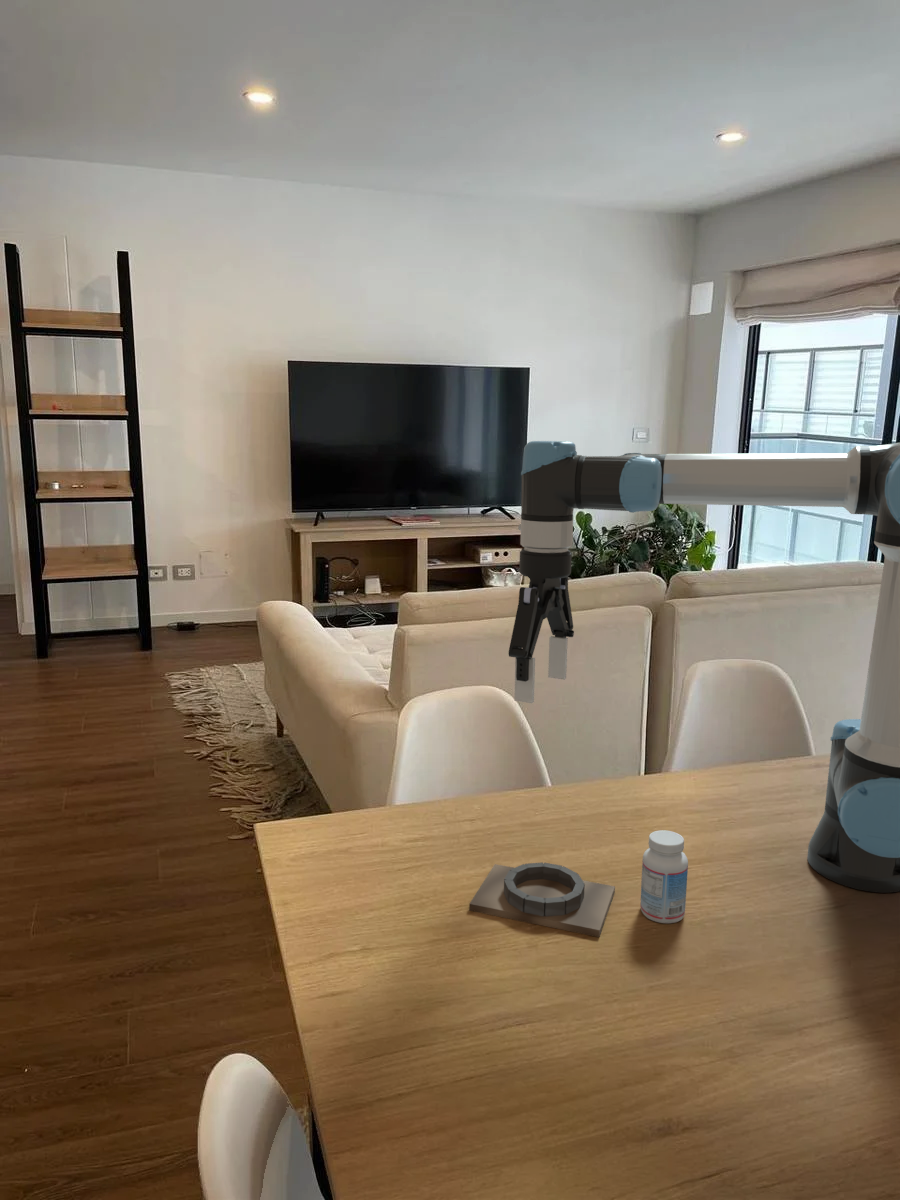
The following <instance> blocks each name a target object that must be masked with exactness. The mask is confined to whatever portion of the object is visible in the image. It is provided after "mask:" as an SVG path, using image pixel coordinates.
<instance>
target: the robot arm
mask: <svg viewBox="0 0 900 1200" xmlns="http://www.w3.org/2000/svg"><path fill="white" fill-rule="evenodd" d="M576 447H577V446H576V444H575V443H574V442H573V441H566V440H565V441H557V440H532V441H529V442H526V445H525V446H524V448H523V455H522V466H521V467H522V469H521V472H520V476H521V502H520V503H521V510H520V511H521V513H520V514H521V515H520V524H518V526H517V528H518V529H517V530H519V531H520V544H519V545H520V546H521V547H523V548H522V549H521V550H520V551H519V566H518V567H519V570H518V572H519V573H520V574H519V575H521V576H524V577H527V578H528V579H529V584H528V587H526V586H525V587H524V586H521V587H520V588H519V592H518V605H517V609H516V614H515V617H514V618H515V619H514V623H513V629H512V633H511V638H510V643H509V649H508V657H510V658H515V659H514V660H515V661H514V662H515V663H514V664H515V668H514V698H513V699H514V701H516V702H522V703H527V704H533V703H535V679H536V678H535V675H536V657H533V656H534V653H535V648H536V646H537V642H538V638H539V636H540V632H541V628H542V625H543V622H544V620H545V619H547V622H548V625H549V628H550V631H551V632H550V633H551V634H552V635H550V636H549V643H548V645H549V646H548V647H549V648H548V667H547V668H548V670H547V672H548V673H547V678H550V679H558V680H566V679H567V667H568V666H567V662H568V638H573V637H574V635H575V630H573V629H574V622H573V615H572V607H571V600H570V594H569V593H570V592H569V576H570V575H571V573H572V559H573V558H572V555H573V554H572V552H571V550H569V549H570V548H571V547H572V546H573V543H574V541H573V539H574V538H573V537H574V534H573V533H574V509H575V510H602V511H616V512H617V511H618V512H629V513H638V512H654V511H655V510H656V509H657V508H658V507H659V505H661V504H665V505H666V504H668V505H716V506H717V505H718V506H721V505H722V506H723V505H724V506H725V505H726V506H727V505H728V506H764V507H765V506H775V507H818V508H819V507H820V508H821V507H824V508H825V507H828V508H830V507H831V508H844V509H845V510H846V511H847V512H848V513H849V514H850V515H867V516H869V515H870V516H876V517H877V519H876V524H875V533H874V538H873V539H874V541H873V543H874V545H875V546H876V547H877V548H878V549H879V550H880V552H881V553H882V554H883V555H884V556H883V557H884V561H883V568H882V574H881V581H880V589H879V596H878V601H877V609H876V613H875V615H876V616H875V620H874V621H875V622H874V628H873V636H872V642H871V649H870V656H869V662H868V663H869V664H868V668H867V676H866V683H865V690H864V696H863V703H862V709H861V715H860V719H858V718H851V719H850V718H848V719H847V718H846V719H842V720H839V721H837V722H835V724H834V726H833V730H832V735H831V737H830V742H831V747H830V753H829V754H830V755H829V764H828V773H827V774H828V775H827V784H826V794H825V804H824V811H823V815H822V816H821V818H820V819H819V822H818V824H817V826H816V828H815V830H814V833H813V834H812V836H811V838H810V840H809V842H808V848H807V857H806V858H807V862H808V864H809V865H810V867H811V868H812V869H813V870H814V871H816V872H817V873H818V874H819V875H821V876H823V877H824V878H826V879H828V880H830V881H831V882H834V883H837V884H839V885H843V886H845V887H849V888H850V889H851V888H852V889H856V890H860V891H864V892H872V893H884V894H885V893H896V892H897V893H899V892H900V442H895V443H888V444H887V443H886V444H878V445H877V444H876V445H855V446H854V447H853V448H852V449H850V450H849V451H848V452H842V453H841V452H840V453H839V452H838V453H837V452H836V453H834V452H832V453H831V452H830V453H829V452H828V453H827V452H826V453H822V452H819V453H818V452H816V453H815V452H814V453H811V452H809V453H808V452H807V453H805V452H804V453H802V452H801V453H795V452H792V453H779V452H778V453H777V452H776V453H664V454H660V453H640V452H627V453H624V454H622V455H617V456H613V455H612V456H610V455H609V456H593V455H592V456H591V455H590V456H587V455H581V454H578V452H577V450H576V449H577V448H576Z"/></svg>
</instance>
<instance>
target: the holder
mask: <svg viewBox="0 0 900 1200" xmlns="http://www.w3.org/2000/svg"><path fill="white" fill-rule="evenodd" d="M615 891H616V886H615V885H610V884H605V883H599V882H593V881H588V880H583V879H582V877H581V876H580V874H579V873H577V872H576V871H574V870H572V869H570V868H568V867H566V866H564V865H560V864H555V863H550V862H549V863H548V862H543V861H542V862H531V863H530V862H529V863H523V864H520V865H518V866H516V867H514V866H507V865H502V864H496V863H494V864H493V866H492V867H491V869H490V871H489V873H488V874H487V876H486V877H485V878H484V880H483V882H482V883H481V885H480V886H479V888H478V889H477V891H476V893H475V894H474V896H473V897H472V899H471V901H470V902H469V907H468V909H469V910H468V911H470V912H475V913H480V914H486V915H490V916H496V917H499V918H505V919H510V920H515V921H519V922H524V923H528V924H529V923H530V924H534V925H539V926H544V927H547V928H548V927H549V928H554V929H558V930H562V931H567V932H572V933H578V934H581V935H582V934H583V935H587V936H592V937H597V938H600V937H601V934H602V931H603V929H604V925H605V922H606V920H607V916H608V913H609V910H610V908H611V905H612V901H613V899H614V895H615V894H616V893H615Z"/></svg>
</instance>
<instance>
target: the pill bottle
mask: <svg viewBox="0 0 900 1200" xmlns="http://www.w3.org/2000/svg"><path fill="white" fill-rule="evenodd" d="M684 849H685V839H684V837H683V836H682V835H681V834H679V833H677V832H675V831H671V830H665V829H663V830H662V829H661V830H655V831H653V832H651V833H650V834H649V836H648V848H647V849H646V850H645V851H644V852H643V855H642V860H641V861H642V863H641V864H642V865H641V867H642V868H641V883H640V884H641V885H640V886H641V887H640V889H641V890H640V904H639V905H640V907H639V908H640V911H641V913H642V914H643V916H645V917H646V919H649V920H650V921H653V922H656V923H660V924H675V923H677V922H681V920H683V918H684V917H685V914H686V904H687V902H686V901H687V900H686V899H687V885H688V870H689V861H688V860H689V859H688V857H687V855H686V854H685V852H683V851H684Z"/></svg>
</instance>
